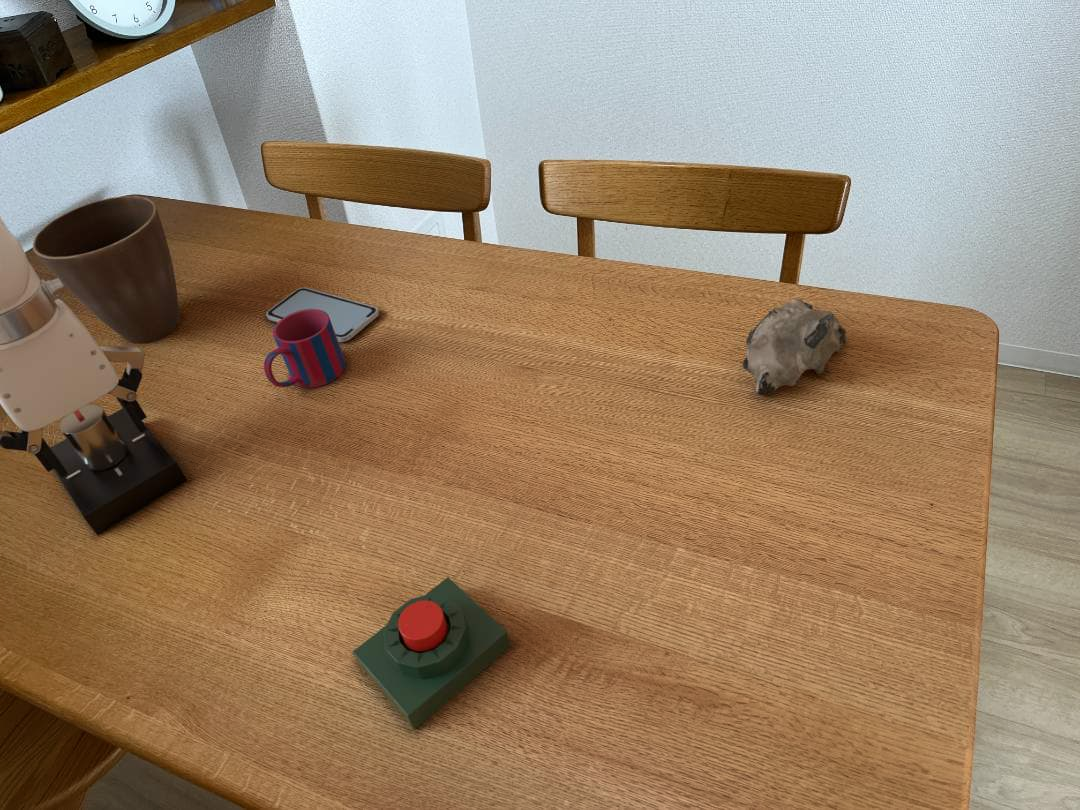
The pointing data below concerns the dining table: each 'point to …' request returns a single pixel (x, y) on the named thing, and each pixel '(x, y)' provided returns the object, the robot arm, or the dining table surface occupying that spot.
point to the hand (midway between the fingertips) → (100, 447)
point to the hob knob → (94, 437)
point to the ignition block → (433, 655)
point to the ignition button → (422, 626)
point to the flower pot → (115, 265)
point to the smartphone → (327, 311)
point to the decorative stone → (791, 345)
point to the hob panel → (119, 477)
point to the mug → (306, 349)
